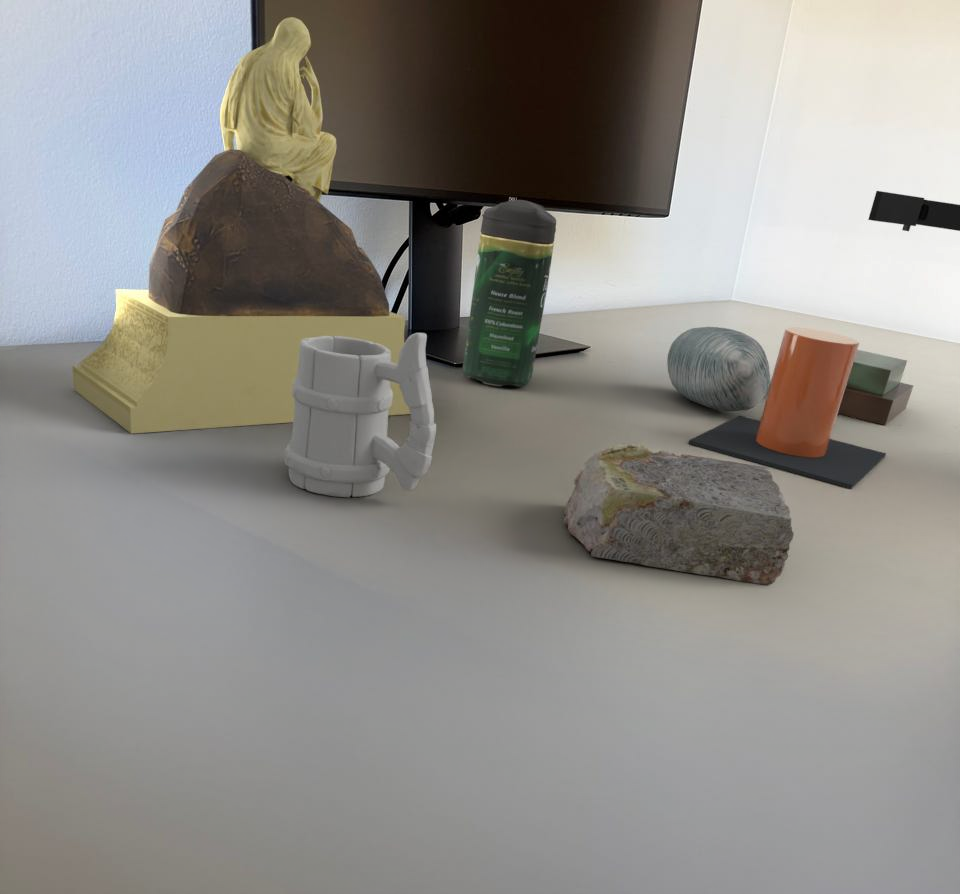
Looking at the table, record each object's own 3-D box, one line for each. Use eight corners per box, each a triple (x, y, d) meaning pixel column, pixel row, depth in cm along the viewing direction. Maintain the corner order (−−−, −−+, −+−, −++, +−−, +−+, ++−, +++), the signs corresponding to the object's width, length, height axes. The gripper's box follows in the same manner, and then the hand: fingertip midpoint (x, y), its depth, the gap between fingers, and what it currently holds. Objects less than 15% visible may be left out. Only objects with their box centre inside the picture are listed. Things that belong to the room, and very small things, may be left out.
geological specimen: (813, 519, 63) (587, 475, 62) (782, 601, 66) (565, 561, 65) (776, 465, 72) (578, 426, 71) (750, 539, 75) (560, 503, 74)
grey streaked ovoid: (661, 401, 118) (637, 340, 111) (722, 351, 118) (702, 287, 111) (733, 452, 109) (712, 389, 102) (799, 398, 109) (782, 332, 102)
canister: (832, 449, 100) (866, 340, 95) (815, 462, 94) (850, 346, 89) (766, 432, 102) (796, 325, 97) (746, 443, 97) (776, 330, 92)
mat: (884, 456, 101) (886, 453, 101) (851, 489, 89) (852, 484, 89) (738, 418, 108) (739, 415, 108) (688, 443, 95) (689, 439, 95)
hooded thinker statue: (351, 378, 101) (375, 42, 87) (423, 412, 92) (462, 47, 79) (73, 389, 84) (48, -25, 70) (131, 433, 75) (115, -28, 62)
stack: (905, 408, 126) (921, 361, 124) (885, 425, 115) (901, 374, 113) (800, 383, 132) (813, 338, 129) (771, 397, 121) (784, 348, 118)
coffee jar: (528, 393, 105) (557, 208, 97) (456, 381, 106) (479, 196, 97) (535, 375, 114) (562, 204, 105) (469, 364, 114) (490, 192, 106)
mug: (328, 457, 77) (338, 299, 71) (453, 499, 72) (475, 334, 66) (261, 477, 71) (267, 306, 65) (393, 524, 66) (411, 344, 60)
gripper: (1162, 291, 95) (1035, 279, 85) (947, 251, 114) (822, 237, 104) (1197, 208, 92) (1069, 185, 82) (970, 181, 111) (843, 159, 100)
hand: (931, 214), depth 93 cm, fingers open, 13 cm apart
